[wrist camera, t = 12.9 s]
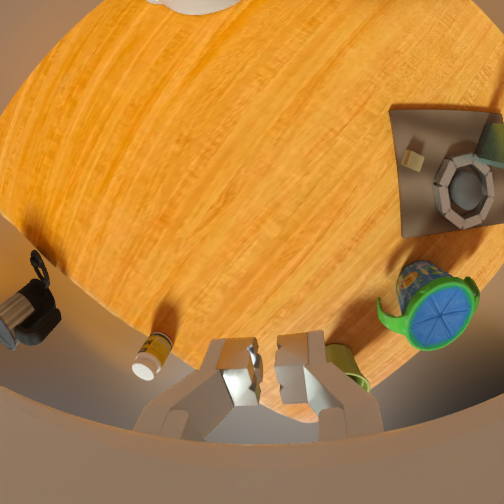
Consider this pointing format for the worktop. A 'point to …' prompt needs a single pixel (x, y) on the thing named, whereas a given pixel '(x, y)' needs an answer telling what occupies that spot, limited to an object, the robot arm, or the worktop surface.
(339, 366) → the plant pot
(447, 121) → the base
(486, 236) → the worktop surface
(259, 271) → the worktop surface
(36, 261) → the milk frother
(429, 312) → the snack cup
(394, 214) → the worktop surface
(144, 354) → the supplement bottle
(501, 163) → the ring with upright panel
